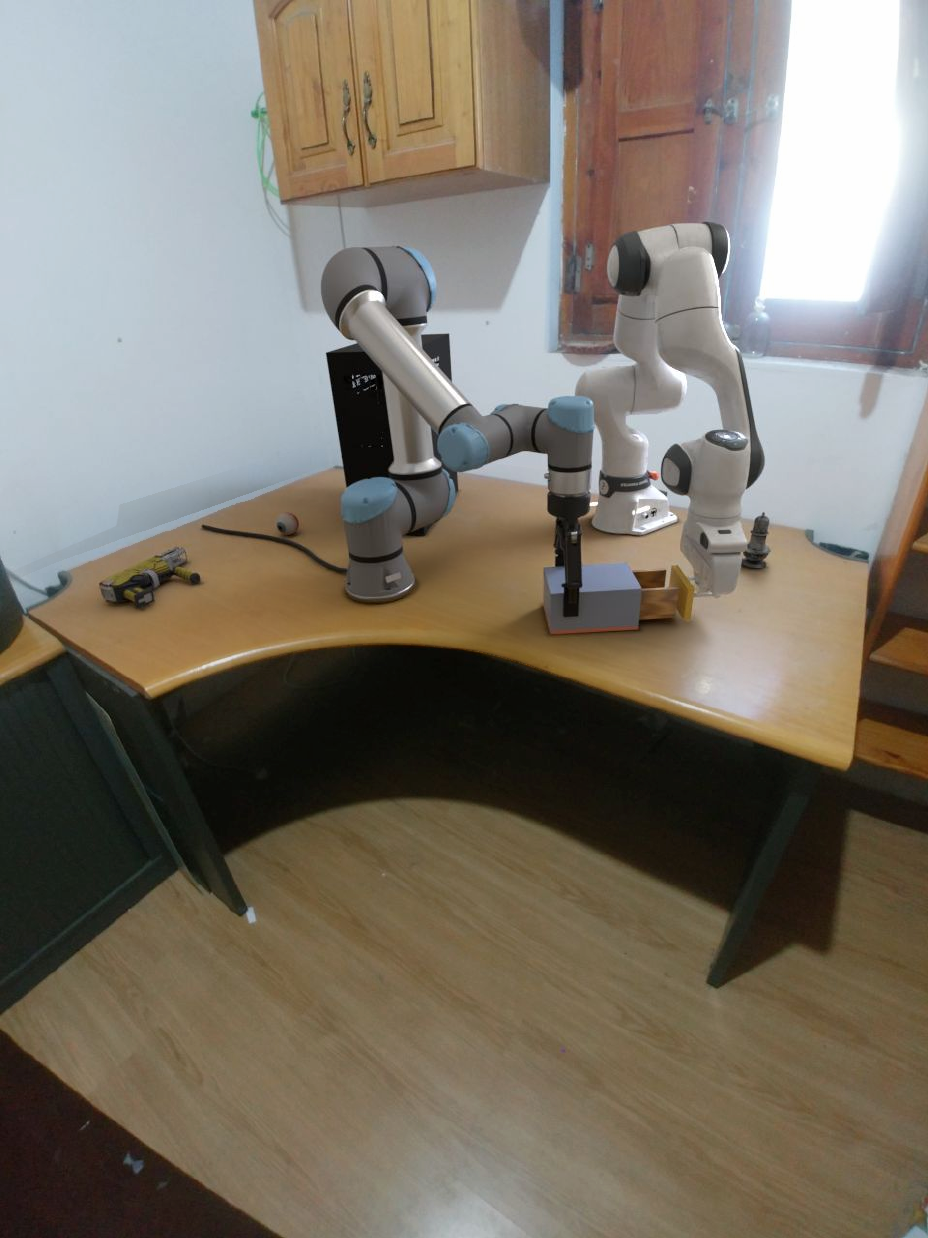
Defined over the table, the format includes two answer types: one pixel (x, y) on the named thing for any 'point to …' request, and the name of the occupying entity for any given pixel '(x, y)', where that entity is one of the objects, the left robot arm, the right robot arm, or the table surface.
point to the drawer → (666, 594)
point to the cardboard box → (373, 411)
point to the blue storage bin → (594, 599)
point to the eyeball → (287, 523)
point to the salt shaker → (757, 544)
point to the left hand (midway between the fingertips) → (565, 600)
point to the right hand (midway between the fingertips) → (700, 592)
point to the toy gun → (146, 578)
